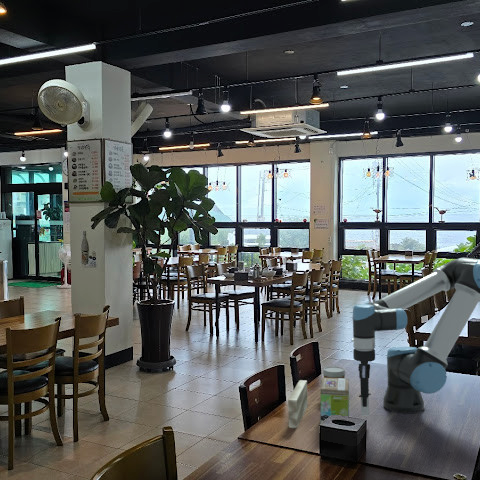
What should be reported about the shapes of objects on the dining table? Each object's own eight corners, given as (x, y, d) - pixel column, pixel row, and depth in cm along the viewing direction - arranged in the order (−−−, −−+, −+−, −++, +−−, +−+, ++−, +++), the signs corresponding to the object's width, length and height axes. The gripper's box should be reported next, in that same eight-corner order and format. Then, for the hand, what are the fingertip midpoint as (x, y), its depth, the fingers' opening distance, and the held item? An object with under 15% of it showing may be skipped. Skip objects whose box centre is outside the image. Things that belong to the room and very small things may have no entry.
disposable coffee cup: (320, 400, 223) (319, 371, 223) (325, 393, 232) (325, 365, 232) (343, 403, 220) (343, 373, 219) (348, 395, 228) (348, 367, 228)
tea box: (349, 432, 190) (348, 389, 190) (320, 430, 192) (319, 388, 192) (349, 416, 205) (348, 377, 204) (322, 415, 207) (321, 376, 206)
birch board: (307, 405, 218) (306, 380, 217) (297, 428, 195) (296, 400, 194) (300, 405, 219) (299, 380, 218) (288, 427, 196) (288, 399, 195)
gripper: (354, 344, 202) (355, 407, 203) (352, 352, 189) (353, 420, 190) (375, 344, 200) (376, 409, 201) (374, 353, 187) (375, 421, 188)
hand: (365, 414), depth 195 cm, fingers closed
